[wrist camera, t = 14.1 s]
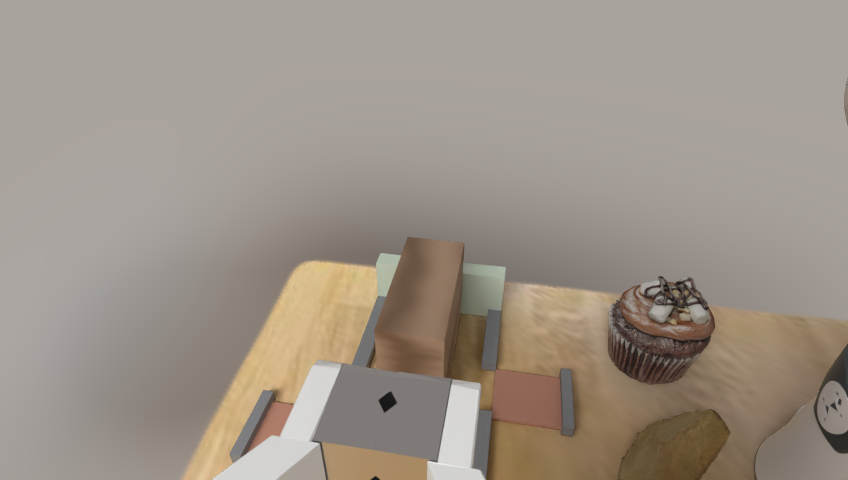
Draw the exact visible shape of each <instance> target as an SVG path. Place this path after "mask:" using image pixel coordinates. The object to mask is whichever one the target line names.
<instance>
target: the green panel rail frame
mask: <svg viewBox="0 0 848 480" xmlns="http://www.w3.org/2000/svg"><path fill="white" fill-rule="evenodd" d="M400 257H401V255H392V254H383V253H380V256H379V258H378V261H377V263H376V268H377V285H378V297H377V300H376V303H375V305H374V308H373V311H372V313H371V316H370V318H369V321H368V324H367V326H366V329H365V332H364V334H363V337H362V339H361V342H360V345H359V347H358V350H357V353H356V355H355V358H354V360H353V363H352V365H356V366H362V367H368V368H369V367H370V364H371V361H372V358H373V355H374V352H375V335H374V329H375V326H376V324H377V321H378V318H379V315H380V313H381V310H382V307H383V304H384V301H385V299H386V296H387V293H388V290H389V288H390V285H391V282H392V279H393V277H394V274H395V271H396V268H397V265H398V263H399V260H400ZM505 272H506V267H500V266H491V265H482V264H473V263H464V262H463V276H462V294H461V312H460V314H468V315H476V316H484V317H487V322H486V331H485V339H484V347H483V355H482V364H481V369H484V370H491V371H495V382H494V393H493V404H492V411H487V410H480V409H479V416H478V426H477V435H476V445H475V455H474V464H473V468H474V469H479V470H481V471H482V473H483V475H484V477H485V479H486V473H487V462H488V451H489V440H490V429H491V419H492V420H499V421H505V422H512V423H518V424H525V425H531V426H538V427H545V428H551V429H558V430H561V435H567V436H573V433H574V429H575V426H574V409H573V392H572V375H571V370H570V369H563V368H561V371H560V375H559V378H556V377H549V376H542V375H535V374H527V373H520V372H513V371H506V370H498V369H496V363H497V351H498V340H499V329H500V318H501V308H502V299H503V291H504V282H505ZM274 401H275V396H274V392H273V391H267V390H263V392H262V394H261V396H260V398H259V400H258V402H257V403H256V405H255V407H254V409H253V411H252V413H251V415H250V417H249V418H248V420H247V422H246V424H245V426H244V428H243V430H242V432H241V434H240V435H239V437H238V439H237V441H236V443H235V445H234V447H233V449H232V450H231V452H230V456H231V459H232V462H236V461H237V460H239V459H240V458H241V457H243V456H244V455H245V454H247V453H248V452H249V451H251V450H252V449H253V448H255V447H256V446H258V445H259V444H260V443H262V442H263V441H264V440H266V439H267V438H268V437H270V436H271V435H275V436H280V434H281V432H282V430H283V428H284V426H285V424H286V421H287V419H288V417H289V415H290V413H291V411H292V408H293V406H294V405H291V404H285V403H278V402H274Z"/></svg>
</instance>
